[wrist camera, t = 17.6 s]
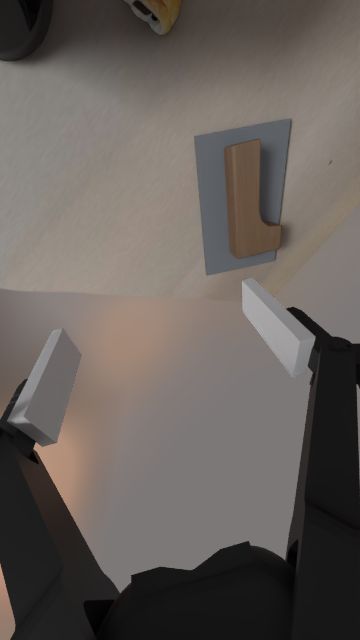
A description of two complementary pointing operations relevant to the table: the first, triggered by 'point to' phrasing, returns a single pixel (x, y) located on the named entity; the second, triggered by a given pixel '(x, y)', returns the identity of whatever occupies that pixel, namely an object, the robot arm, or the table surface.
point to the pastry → (157, 13)
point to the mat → (215, 188)
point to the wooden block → (247, 202)
